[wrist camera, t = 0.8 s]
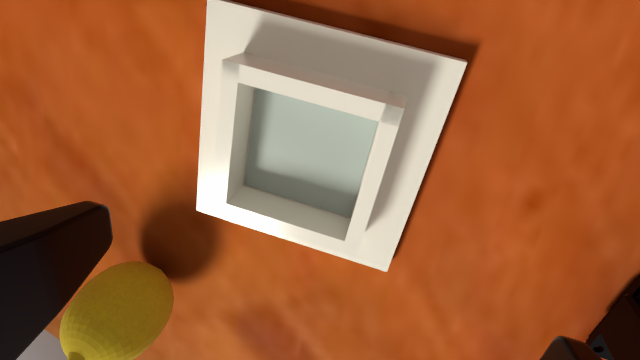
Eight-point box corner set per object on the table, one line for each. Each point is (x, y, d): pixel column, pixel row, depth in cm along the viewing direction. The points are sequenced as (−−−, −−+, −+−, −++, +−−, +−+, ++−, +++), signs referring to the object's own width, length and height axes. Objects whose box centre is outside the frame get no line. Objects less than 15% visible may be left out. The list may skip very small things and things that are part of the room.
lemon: (130, 226, 26) (25, 311, 19) (202, 261, 26) (122, 359, 19) (122, 279, 29) (27, 370, 22) (186, 311, 29) (112, 413, 22)
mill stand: (465, 59, 17) (473, 72, 14) (387, 263, 22) (383, 298, 20) (215, -4, 18) (181, -3, 15) (202, 204, 24) (175, 230, 21)
